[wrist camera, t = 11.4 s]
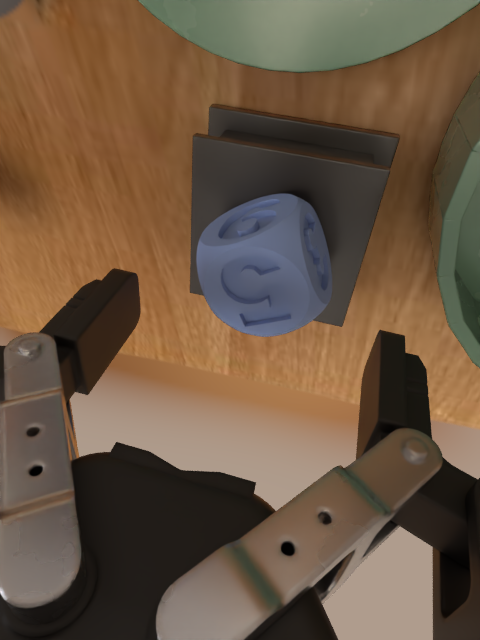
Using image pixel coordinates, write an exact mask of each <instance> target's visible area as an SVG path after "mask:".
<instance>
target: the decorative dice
mask: <svg viewBox="0 0 480 640" xmlns="http://www.w3.org/2000/svg"><path fill="white" fill-rule="evenodd" d="M197 271H198V277H199V281H200V285H201V288H202V291H203V294H204V297H205V299H206V301H207V303H208V305H209V307H210V308H211V310H212V311H213V312H214V314H215V315H216V316H217V317H218V318H220V319H221V320H222V321H223V322H224V323H226V324H227V325H229V326H230V327H232V328H234V329H236V330H238V331H240V332H243V333H246V334H251V335H255V336H262V337H269V336H277V335H282V334H285V333H289V332H291V331H294V330H296V329H299V328H301V327H303V326H304V325H306V324H308V323H309V322H311V321H312V320H314V319H315V318H316V317H317V316H318V315H319V314H320V313H321V312H322V311H323V310H324V309H325V307H326V306H327V305H328V303H329V302H330V299H331V295H332V271H331V263H330V257H329V252H328V247H327V243H326V239H325V236H324V232H323V229H322V226H321V223H320V221H319V218H318V216H317V214H316V212H315V210H314V209H313V207H312V206H311V205H310V204H309V203H308V202H306V201H304V200H303V199H301V198H299V197H297V196H294V195H291V194H273V195H268V196H264V197H260V198H257V199H254V200H251V201H249V202H246V203H244V204H241V205H239V206H237V207H235V208H233V209H231V210H229V211H228V212H226V213H224V214H223V215H221V216H220V217H218V218H217V219H215V220H214V221H213V222H212V223H210V224H209V225H208V226H207V227H206V228H205V230H204V231H203V233H202V234H201V237H200V239H199V242H198V247H197Z"/></svg>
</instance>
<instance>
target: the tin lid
mask: <svg viewBox="0 0 480 640" xmlns="http://www.w3.org/2000/svg"><path fill="white" fill-rule="evenodd" d="M138 1H139V2H140V3H141V4H142V5H143V6H144V7H145V8H146V9H147V10H148V11H149V12H151V13H152V14H153V15H154V16H155V17H156V18H157V19H159V20H160V21H161V22H163V23H164V24H165V25H167V26H168V27H169V28H171V29H172V30H173V31H175V32H176V33H177V34H179V35H180V36H181V37H183V38H185V39H187V40H189V41H190V42H192V43H194V44H196V45H197V46H199V47H201V48H203V49H205V50H206V51H208V52H210V53H213V54H215V55H218V56H220V57H223V58H225V59H228V60H231V61H233V62H236V63H238V64H243V65H247V66H251V67H256V68H260V69H265V70H270V71H283V72H296V73H304V72H317V71H331V70H337V69H341V68H346V67H350V66H355V65H359V64H364V63H368V62H370V61H373V60H376V59H379V58H381V57H384V56H387V55H390V54H392V53H395V52H398V51H401V50H403V49H405V48H407V47H409V46H411V45H413V44H415V43H417V42H418V41H420V40H422V39H424V38H426V37H428V36H430V35H432V34H434V33H436V32H438V31H439V30H441V29H442V28H444V27H445V26H447V25H449V24H450V23H452V22H453V21H455V20H456V19H458V18H459V17H461V16H462V15H464V14H465V13H467V12H468V11H470V10H471V9H473V8H474V7H476V6H477V5H478V4H479V3H480V0H138Z"/></svg>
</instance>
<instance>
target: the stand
mask: <svg viewBox="0 0 480 640" xmlns="http://www.w3.org/2000/svg"><path fill="white" fill-rule="evenodd" d="M398 142H399V135H397V134H391V133H385V132H379V131H373V130H367V129H361V128H355V127H349V126H343V125H336V124H330V123H324V122H318V121H312V120H306V119H300V118H294V117H288V116H282V115H276V114H270V113H263V112H257V111H251V110H245V109H239V108H233V107H227V106H221V105H215V104H213V105H211V106H210V107H209V129H208V135H204V134H198V133H196V134H195V135H194V136H193V156H192V211H191V267H190V293H194V294H199V295H203V296H204V294H203V291H202V288H201V285H200V281H199V277H198V271H197V247H198V242H199V239H200V237H201V234H202V233H203V231H204V230H205V228H206V227H207V226H208V225H209V224H210V223H212V222H213V221H214V220H215V219H217V218H218V217H220V216H221V215H223V214H224V213H226V212H228V211H229V210H231V209H233V208H235V207H237V206H239V205H241V204H244V203H246V202H249V201H251V200H254V199H257V198H260V197H264V196H268V195H273V194H291V195H294V196H297V197H299V198H301V199H303V200H304V201H306V202H308V203H309V204H310V205H311V206H312V207H313V209H314V210H315V212H316V214H317V216H318V218H319V221H320V223H321V226H322V229H323V232H324V236H325V239H326V243H327V247H328V252H329V257H330V263H331V271H332V295H331V299H330V302H329V303H328V305H327V306H326V307H325V309H324V310H323V311H322V312H321V313H320V314H319V315H318V316H317V317H316V318H315V319H314V321H318V322H323V323H327V324H331V325H336V326H340V327H342V326H343V323H344V319H345V316H346V313H347V310H348V306H349V303H350V300H351V297H352V293H353V290H354V287H355V284H356V280H357V277H358V274H359V271H360V267H361V264H362V261H363V258H364V254H365V251H366V248H367V245H368V241H369V238H370V235H371V232H372V229H373V225H374V222H375V219H376V216H377V212H378V209H379V206H380V203H381V199H382V196H383V193H384V190H385V186H386V183H387V180H388V177H389V173H390V168H391V164H392V161H393V158H394V155H395V151H396V148H397V145H398Z"/></svg>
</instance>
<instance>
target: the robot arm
mask: <svg viewBox="0 0 480 640" xmlns="http://www.w3.org/2000/svg"><path fill="white" fill-rule="evenodd" d="M139 317H140V296H139V283H138V276H137V274H136V273H133V272H128V271H124V270H120V269H115V268H114V269H112V270H111V271H110V272H109V273H108V274H107V275H106V276H105V278H104V279H103V280H102V281H101V280H97V279H96V280H94V281H92V282H90V283H88V284H86V285H85V286H83V287H82V288H81V289H80V290H79V291H78V292H77V293H76V294H75V295H74V296H73V298H71V299H70V300H69V301H68V302H67V303H66V306H64V307H63V308H62V309H61V310H60V311H59V312H58V313H57V314H56V315H55V316H54V317H53V318H52V319H51V320H50V321H49V322H48V323H47V324H46V326H45V327H44V328H43V329H42V330H41V331H40V332H39V333H27V334H24V335H21V336H18V337H16V338H15V339H13V340H12V341H10V342H9V343H8V345H7V346H0V640H338V638H337V636H336V634H335V632H334V629H333V627H332V625H331V623H330V621H329V618H328V616H327V614H326V612H325V610H324V607H323V605H322V604H323V603H324V602H325V601H326V600H327V599H328V598H329V597H330V596H331V595H332V594H333V593H335V592H336V590H338V589H339V587H341V585H342V584H343V583H344V582H345V581H346V580H347V579H348V578H349V577H350V576H351V574H352V573H353V572H354V571H355V569H356V568H357V567H358V566H359V565H360V564H361V563H362V562H363V561H364V560H365V559H366V558H367V557H368V556H369V555H370V554H371V553H372V552H373V551H375V549H377V548H378V547H379V546H380V545H381V544H382V543H383V542H384V541H385V540H386V539H387V538H388V537H389V536H390V535H391V534H392V533H393V532H394V531H395V530H396V529H397V528H399V527H400V526H401V527H402V528H404V529H405V530H407V531H409V532H410V533H412V534H413V535H415V536H417V537H418V538H420V539H421V540H423V541H424V542H426V543H428V544H429V545H431V546H432V547H433V640H480V478H479V479H476V478H474V477H472V476H470V475H469V474H467V473H465V472H463V471H461V470H459V469H458V468H456V467H454V466H453V465H451V464H450V463H449V462H447V461H446V460H445V459H444V458H443V457H442V453H441V451H440V449H439V447H438V445H437V444H436V443H435V442H434V441H433V440H432V435H431V422H430V410H429V397H428V386H427V373H426V368H425V366H424V365H423V363H422V361H421V360H420V358H419V356H417V355H413V354H408V353H405V336H404V335H400V334H395V333H391V332H387V331H382V330H380V331H379V332H378V334H377V337H376V339H375V342H374V345H373V347H372V350H371V352H370V355H369V358H368V360H367V363H366V366H365V369H364V373H363V378H362V386H361V399H360V413H359V426H358V439H357V440H358V441H357V453H356V461H354V462H353V463H352V464H350V465H349V466H347V467H346V468H343V467H342V466H337V467H335V468H333V469H332V470H330V471H329V472H328V473H326V474H325V475H324V476H323V477H321V478H320V479H318V480H317V481H316V482H314V483H313V484H312V485H310V486H309V487H308V488H307V489H305V490H304V491H302V492H301V493H300V494H298V495H297V496H296V497H294V498H293V499H292V500H291V501H289V502H288V503H287V504H285V505H284V506H283V507H281V508H280V509H279V510H277V511H275V510H274V509H273V508H272V507H271V506H270V505H269V504H268V503H267V502H265V501H264V500H263V499H262V498H260V497H259V496H257V495H255V494H254V490H255V485H256V482H252V481H249V480H245V479H242V478H238V477H235V476H232V475H228V474H225V473H221V472H204V471H183V470H180V469H178V468H176V467H174V466H173V465H171V464H169V463H168V462H166V461H164V460H163V459H161V458H159V457H158V456H156V455H154V454H153V453H151V452H149V451H146V450H142V449H139V448H135V447H132V446H128V445H125V444H121V443H118V442H116V443H115V445H114V447H113V449H112V450H111V452H103V453H94V454H89V455H86V456H82V457H79V453H78V448H77V441H76V435H75V429H74V422H73V416H72V409H71V403H70V398H71V396H72V395H73V394H74V392H78V393H82V394H86V395H88V394H89V393H90V391H91V390H92V388H93V387H94V386H95V384H96V383H97V381H98V380H99V379H100V377H101V376H102V374H103V373H104V371H105V370H106V369H107V367H108V366H109V364H110V363H111V361H112V360H113V359H114V357H115V356H116V354H117V353H118V351H119V350H120V349H121V347H122V346H123V344H124V343H125V341H126V340H127V339H128V337H129V336H130V334H131V333H132V331H133V330H134V329H135V327H136V325H137V323H138V321H139Z"/></svg>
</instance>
